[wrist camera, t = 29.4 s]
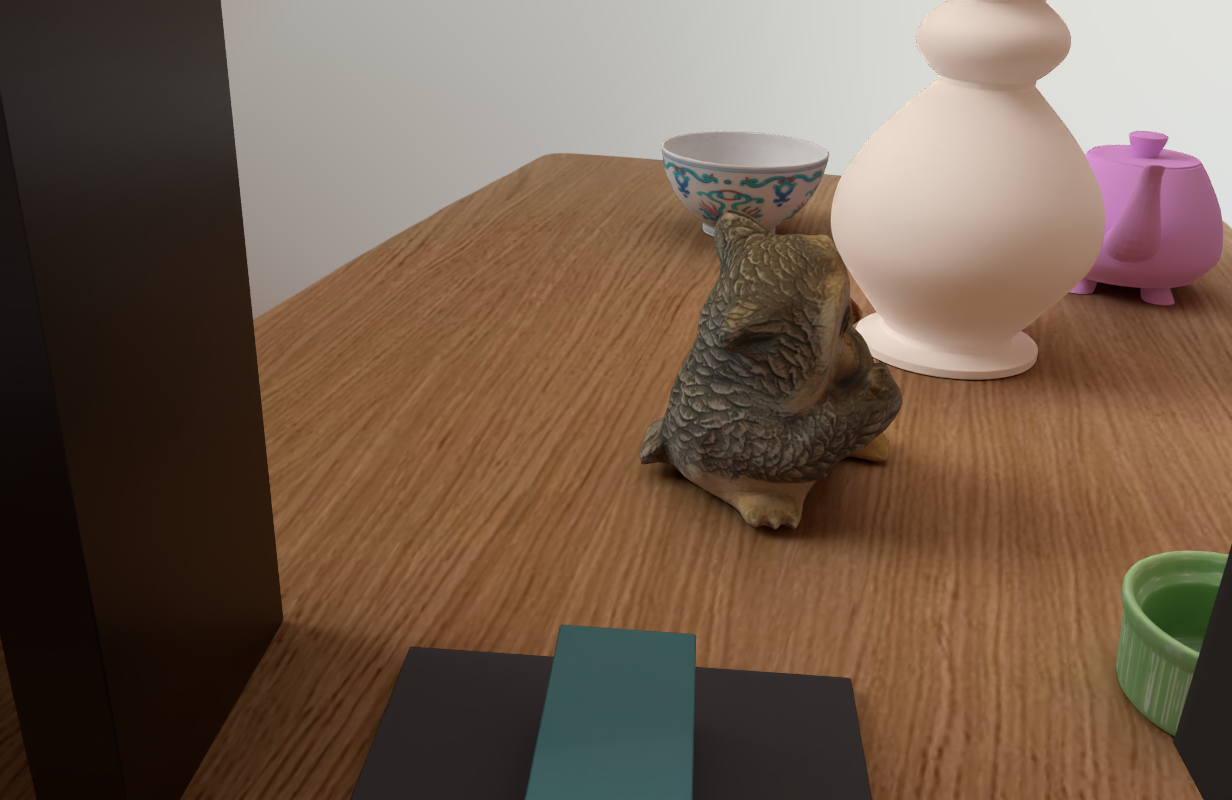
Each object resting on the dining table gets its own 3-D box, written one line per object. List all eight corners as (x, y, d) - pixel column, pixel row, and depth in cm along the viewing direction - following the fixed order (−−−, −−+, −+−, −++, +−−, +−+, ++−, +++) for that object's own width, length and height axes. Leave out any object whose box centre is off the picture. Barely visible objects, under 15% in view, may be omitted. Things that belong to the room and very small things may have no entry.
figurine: (957, 552, 57) (1009, 258, 51) (663, 562, 56) (680, 259, 50) (868, 427, 70) (901, 180, 64) (627, 432, 68) (637, 179, 62)
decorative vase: (1128, 390, 77) (1221, -13, 67) (871, 401, 74) (927, -19, 64) (1001, 300, 93) (1060, -36, 82) (786, 306, 90) (819, -41, 79)
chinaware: (767, 266, 99) (775, 175, 96) (625, 232, 107) (628, 147, 104) (848, 230, 110) (858, 148, 107) (714, 202, 118) (719, 124, 115)
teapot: (1220, 340, 86) (1265, 171, 81) (1020, 311, 91) (1050, 149, 85) (1201, 265, 103) (1236, 122, 98) (1033, 244, 108) (1058, 106, 103)
